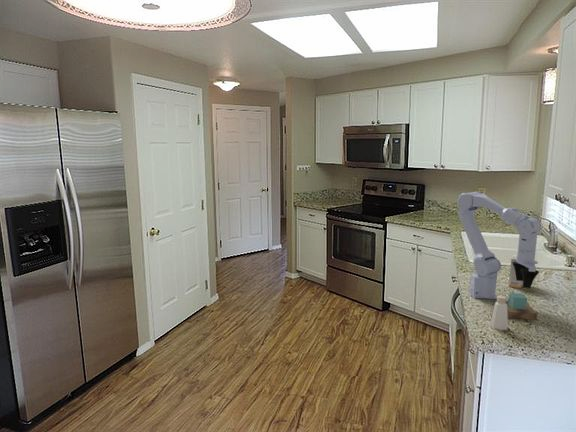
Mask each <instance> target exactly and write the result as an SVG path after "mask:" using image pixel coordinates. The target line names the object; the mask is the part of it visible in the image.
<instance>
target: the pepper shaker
mask: <svg viewBox="0 0 576 432" xmlns="http://www.w3.org/2000/svg"><path fill="white" fill-rule="evenodd" d="M506 301H507V297H506V296H504V295H497V299H496V302H494V307H493V311H492V315H491V316H492V317H491V319H490V320H491V321H490V327H491V328H492V329H495V330H499V331H507V329H508V328H509V326H508V325H509V324H508V320H509V318H508V316H507V304H505V302H506Z"/></svg>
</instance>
